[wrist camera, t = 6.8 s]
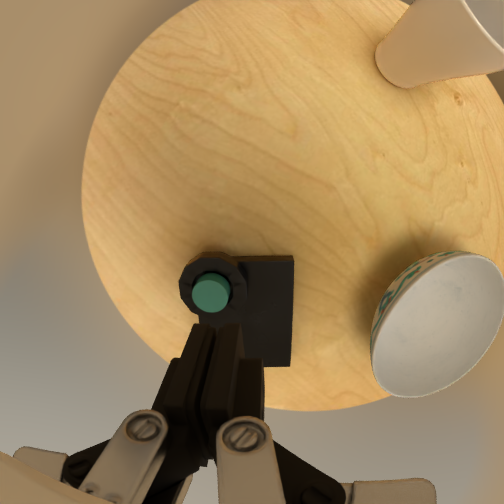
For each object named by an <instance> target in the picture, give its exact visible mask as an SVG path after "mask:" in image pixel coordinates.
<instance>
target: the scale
mask: <svg viewBox="0 0 504 504" xmlns="http://www.w3.org/2000/svg"><path fill="white" fill-rule="evenodd" d="M207 273H216V274H219V275H221V276H223V277H224V278H225V279H226V280H227V281H228V283H229V286H230V294H229V298H228V302H227V304H226V306H225V307H224V308H223V309H222V310H220V311H218V312H206V311H203V310H201V309H200V308H199V307H197V305H196V304H195V303H194V301H193V298H192V291H193V288H194V286H195V284H196V283H197V281H198V279H199V278H200V277H201V276H202V275H204V274H207ZM293 288H294V259H293V256H229V255H227V254H225V253H223V252H203V253H201V254H200V255H198V256H196V257H195V258H193V259H191V260H190V261H189V262H188V264H187V265H186V267H185V268H184V270H183V273H182V275H181V277H180V279H179V289H180V296H181V299H182V300H183V302H184V303H185V304H186V305H187V307H188V308H189V309H190V311H191V312H193V313H195V314H197V315H198V316H199V323H200V324H208V323H209V324H210V326H211V327H215V328H216V331H217V334H218V330H219V327H224V325H225V323H241V327H242V336H243V344H244V352H245V359H247V358H263V367H290V361H291V342H292V318H293Z"/></svg>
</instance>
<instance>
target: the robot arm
mask: <svg viewBox="0 0 504 504" xmlns="http://www.w3.org/2000/svg"><path fill="white" fill-rule="evenodd" d="M264 399H265V385H264V367H263V358H247V359H245V352H244V344H243V336H242V327H241V323H225V325H224V327H219V330H218V334H217V331H216V328H215V327H211V326H210V324H209V323H208V324H194V325H193V327H192V329H191V332H190V334H189V337H188V340H187V342H186V345H185V347H184V350H183V352H182V355H181V357H180V358H173V359H172V360H171V362H170V365H169V367H168V369H167V372H166V374H165V377H164V379H163V381H162V384H161V386H160V389H159V391H158V394H157V396H156V399H155V401H154V403H153V406H152V409H151V410H148V409H146V410H139V411H136V412H133V413H131V414H130V415H128V416H127V417H126V418H125V419H124V421H123V422H122V424H121V425H120V426H119V428H118V429H117V431H116V432H115V434H114V435H113V437H112V438H111V439H109V440H106V441H104V442H102V443H100V444H97V445H95V446H92V447H90V448H87V449H85V450H83V451H80V452H77V453H75V454H73V455H71V456H68V455H67V454H66V453H60V452H54V451H48V450H42V449H38V448H33V447H25V446H24V447H21V448H19V449H18V450H17V451H16V452H15V453H14V455H13V457H11V456H9V455H7V454H5V453H3V452H1V451H0V504H182V503H183V501H184V498H185V496H186V493H187V491H188V489H189V486H190V484H191V481H192V477H193V473H195V472H197V471H198V470H199V467H200V466H203V467H207V464H208V459H214V461H215V464H216V466H217V475H218V476H217V477H218V498H219V504H436V490H435V487H434V485H433V484H432V483H431V482H430V481H428V480H426V479H424V478H410V479H400V480H382V481H354V482H353V483H338V482H337V481H336V480H335V479H333V478H331V477H329V476H328V475H326V474H324V473H323V472H321V471H319V470H318V469H316V468H315V467H313V466H311V465H310V464H308V463H307V462H305V461H303V460H302V459H300V458H299V457H297V456H296V455H294V454H293V453H291V452H290V451H288V450H287V449H285V448H284V447H283V446H281V445H280V444H278V443H277V442H275V441H274V440H273V439H272V434H271V431H270V428H269V426H268V425H267V424H266V423H265V422H264Z"/></svg>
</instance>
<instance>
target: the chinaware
mask: <svg viewBox="0 0 504 504" xmlns="http://www.w3.org/2000/svg"><path fill="white" fill-rule="evenodd" d="M503 315H504V278H503V276H502V273H501V271H500V270H499V268H498V267H497V266H496V264H495V263H494V262H492V261H491V260H490V259H488V258H486V257H484V256H482V255H479V254H475V253H471V252H464V251H446V252H440V253H435V254H432V255H429V256H426V257H424V258H422V259H420V260H418V261H416V262H415V263H413V264H412V265H410V266H409V267H407V268H406V269H405V270H404V271H403V272H401V273H400V274H399V275H398V276H397V277H396V278H395V280H394V281H393V282H392V283H391V284H390V286H389V287H388V289H387V290H386V292H385V293H384V295H383V297H382V299H381V300H380V303H379V305H378V307H377V310H376V312H375V316H374V319H373V323H372V328H371V336H370V357H371V365H372V370H373V374H374V377H375V379H376V381H377V382H378V384H379V385H380V386H381V388H382V389H384V390H385V391H386V392H388V393H390V394H392V395H394V396H397V397H403V398H415V397H422V396H427V395H430V394H433V393H436V392H438V391H440V390H442V389H444V388H446V387H448V386H450V385H451V384H453V383H455V382H456V381H457V380H459V379H460V378H462V377H463V376H464V375H465V374H467V373H468V372H469V371H470V370H471V369H472V368H473V367H474V366H475V365H476V364H477V363H478V361H479V360H480V359H481V358H482V357H483V355H484V354H485V353H486V351H487V350H488V349H489V347H490V345H491V344H492V342H493V340H494V339H495V337H496V335H497V332H498V330H499V328H500V325H501V322H502V319H503Z"/></svg>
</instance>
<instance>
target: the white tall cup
mask: <svg viewBox="0 0 504 504" xmlns="http://www.w3.org/2000/svg"><path fill="white" fill-rule="evenodd" d="M375 60H376V64H377V67H378V69H379V70H380V72H381V73H382V75H383V76H384V77H385V78H386V79H387V80H388V81H389V82H391V83H392V84H394V85H396V86H398V87H401V88H407V89H410V88H415V87H418V86H421V85H424V84H428V83H433V82H438V81H444V80H450V79H456V78H463V77H470V76H477V75H484V74H490V73H495V72H499V71H503V70H504V0H414V1H413V2H412V4H411V5H410V6H409V7H408V9H407V10H406V11H405V13H404V14H403V15H402V17H401V18H400V19H399V20H398V22H397V23H396V24H395V26H394V27H393V28H392V29H391V31H390V32H389V33H388V34H387V36H386V37H385V38H384V39H383V40H382V41H381V42H380V43H379V44H378V45H377V47H376V51H375Z"/></svg>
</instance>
